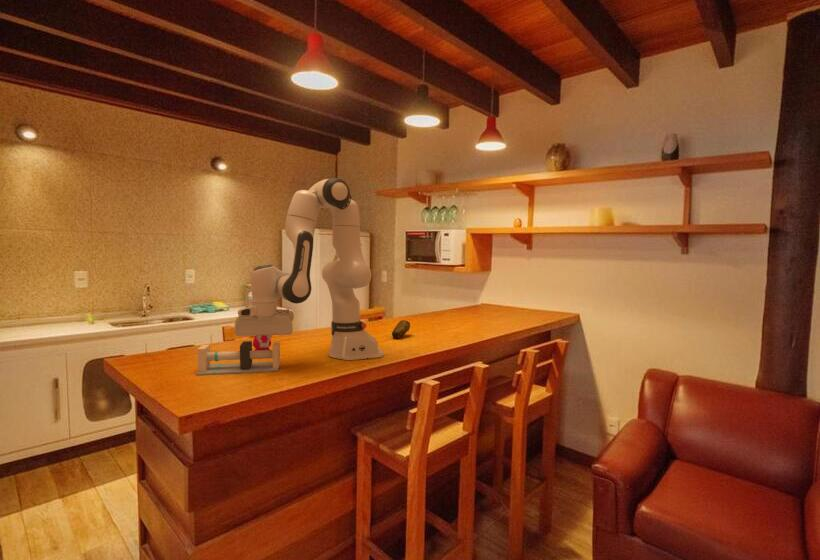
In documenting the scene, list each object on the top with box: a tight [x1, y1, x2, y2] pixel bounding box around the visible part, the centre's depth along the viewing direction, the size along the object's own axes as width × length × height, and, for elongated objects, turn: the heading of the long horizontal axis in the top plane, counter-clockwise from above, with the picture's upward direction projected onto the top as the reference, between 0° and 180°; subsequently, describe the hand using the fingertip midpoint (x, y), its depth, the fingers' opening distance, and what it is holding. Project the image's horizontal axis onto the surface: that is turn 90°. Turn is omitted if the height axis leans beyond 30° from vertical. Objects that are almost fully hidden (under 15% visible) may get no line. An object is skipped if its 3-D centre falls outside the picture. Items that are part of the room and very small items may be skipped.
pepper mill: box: [252, 335, 272, 351], centre depth 181 cm, size 7×7×20 cm
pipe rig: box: [195, 341, 281, 376], centre depth 159 cm, size 27×12×9 cm, turn 102°
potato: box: [391, 320, 411, 339], centre depth 218 cm, size 8×13×8 cm, turn 136°
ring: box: [239, 340, 253, 369], centre depth 159 cm, size 3×8×8 cm, turn 12°
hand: (264, 347), depth 160 cm, fingers closed
